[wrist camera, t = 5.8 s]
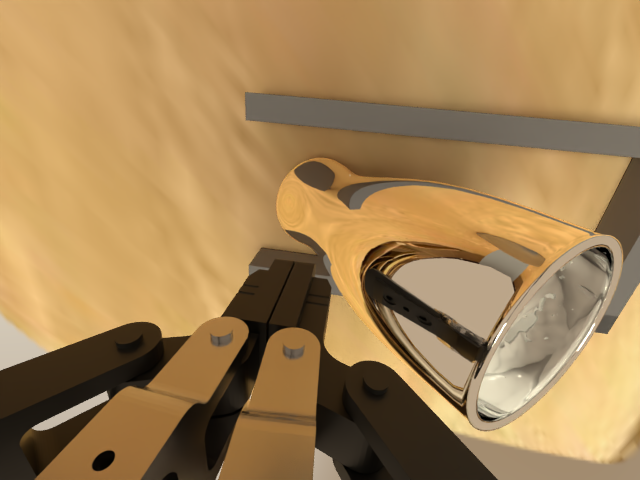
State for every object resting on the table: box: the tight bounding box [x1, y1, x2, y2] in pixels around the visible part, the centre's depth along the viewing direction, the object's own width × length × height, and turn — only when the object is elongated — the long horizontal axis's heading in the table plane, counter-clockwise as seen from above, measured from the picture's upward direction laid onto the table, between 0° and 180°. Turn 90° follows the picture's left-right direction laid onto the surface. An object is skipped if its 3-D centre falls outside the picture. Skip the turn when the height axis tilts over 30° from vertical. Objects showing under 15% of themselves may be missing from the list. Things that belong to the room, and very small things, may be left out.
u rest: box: [245, 92, 640, 334], centre depth 20 cm, size 13×26×3 cm, turn 85°
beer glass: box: [276, 158, 623, 431], centre depth 14 cm, size 7×7×15 cm
